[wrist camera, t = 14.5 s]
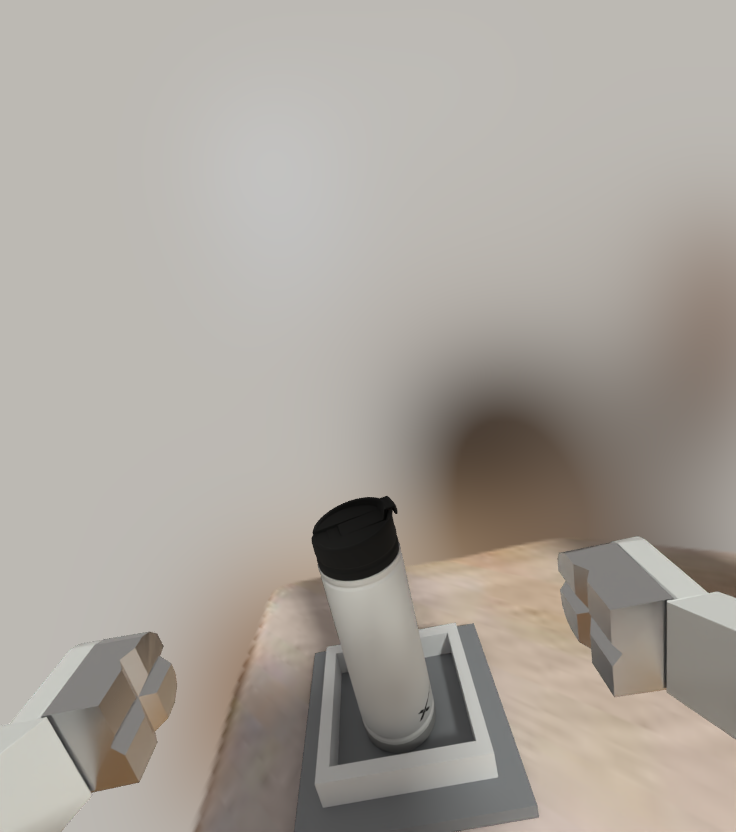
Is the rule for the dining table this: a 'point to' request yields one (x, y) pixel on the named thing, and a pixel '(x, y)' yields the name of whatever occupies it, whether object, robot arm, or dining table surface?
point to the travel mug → (376, 621)
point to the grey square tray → (413, 751)
